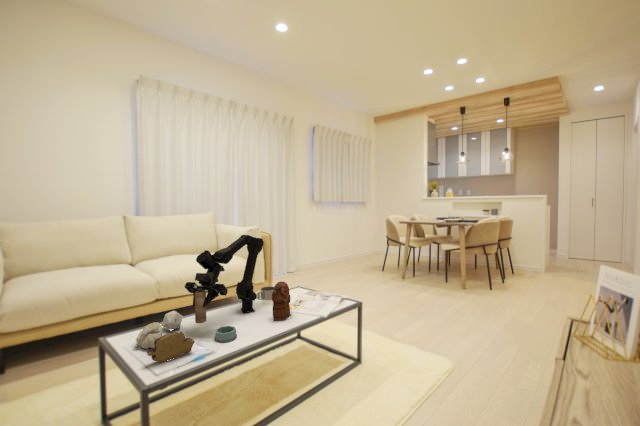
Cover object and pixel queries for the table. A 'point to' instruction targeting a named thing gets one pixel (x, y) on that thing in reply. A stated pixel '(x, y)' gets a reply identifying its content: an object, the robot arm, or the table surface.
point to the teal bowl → (225, 334)
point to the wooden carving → (170, 346)
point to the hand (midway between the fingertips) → (198, 306)
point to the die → (172, 320)
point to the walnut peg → (200, 306)
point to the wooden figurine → (281, 301)
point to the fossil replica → (149, 335)
